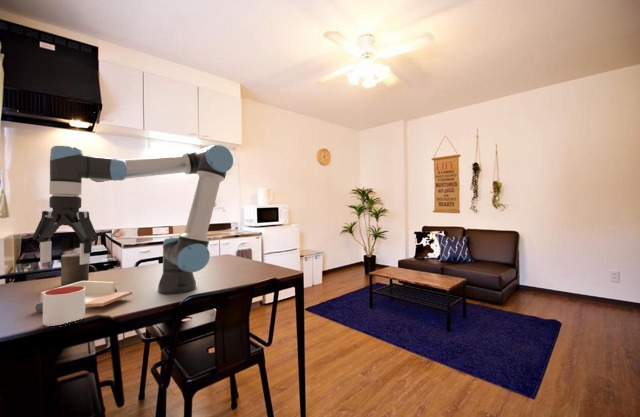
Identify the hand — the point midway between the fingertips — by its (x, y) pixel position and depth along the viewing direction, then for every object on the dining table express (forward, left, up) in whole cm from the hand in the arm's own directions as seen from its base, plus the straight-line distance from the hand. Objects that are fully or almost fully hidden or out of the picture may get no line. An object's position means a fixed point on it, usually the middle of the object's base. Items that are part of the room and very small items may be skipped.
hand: (65, 263), depth 90 cm
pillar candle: (+36, -38, -19) cm, 56 cm away
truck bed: (+11, -16, -19) cm, 27 cm away
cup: (0, 0, -19) cm, 19 cm away
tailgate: (+3, -16, -17) cm, 24 cm away
